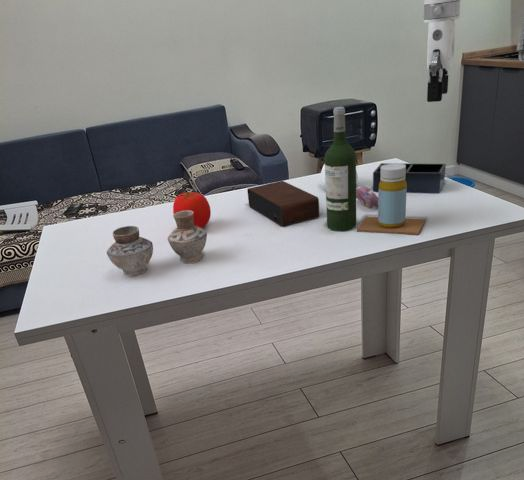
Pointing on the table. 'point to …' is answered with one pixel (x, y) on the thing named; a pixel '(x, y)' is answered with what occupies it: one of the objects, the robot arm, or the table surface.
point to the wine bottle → (340, 178)
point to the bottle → (392, 195)
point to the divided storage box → (418, 177)
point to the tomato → (193, 207)
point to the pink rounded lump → (366, 197)
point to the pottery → (140, 249)
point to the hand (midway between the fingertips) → (437, 97)
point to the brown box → (283, 203)
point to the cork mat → (407, 228)
